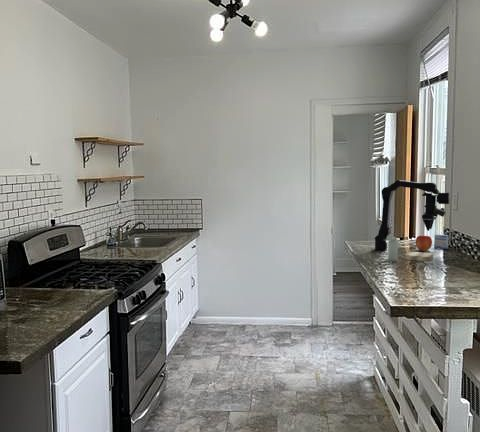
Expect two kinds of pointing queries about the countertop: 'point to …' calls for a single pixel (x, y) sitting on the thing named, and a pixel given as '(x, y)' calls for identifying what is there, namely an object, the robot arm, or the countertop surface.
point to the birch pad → (419, 256)
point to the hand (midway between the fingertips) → (429, 229)
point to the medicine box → (441, 241)
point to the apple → (423, 243)
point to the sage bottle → (393, 249)
